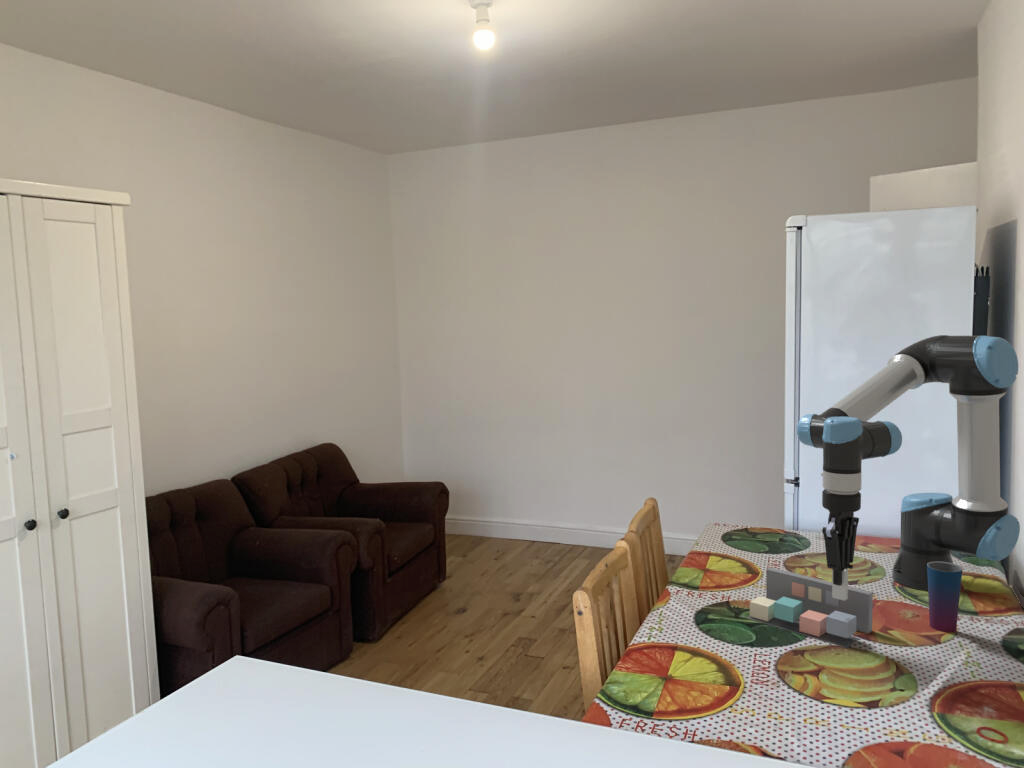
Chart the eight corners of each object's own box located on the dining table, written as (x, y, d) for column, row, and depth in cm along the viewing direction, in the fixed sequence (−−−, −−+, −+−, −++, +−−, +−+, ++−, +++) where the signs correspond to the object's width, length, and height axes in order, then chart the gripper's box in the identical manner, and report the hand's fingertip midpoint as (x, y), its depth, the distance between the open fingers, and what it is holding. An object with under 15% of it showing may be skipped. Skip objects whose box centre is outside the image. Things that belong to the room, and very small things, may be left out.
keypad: (771, 606, 186) (771, 566, 185) (872, 635, 169) (873, 591, 168) (737, 626, 175) (737, 584, 174) (842, 659, 158) (843, 613, 157)
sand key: (759, 610, 180) (759, 596, 180) (777, 615, 177) (777, 601, 177) (749, 616, 177) (749, 601, 177) (767, 621, 174) (767, 606, 173)
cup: (965, 639, 165) (967, 572, 164) (931, 637, 167) (933, 571, 165) (953, 626, 172) (955, 561, 170) (921, 624, 173) (922, 560, 172)
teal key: (783, 611, 176) (783, 596, 175) (802, 616, 172) (802, 601, 172) (773, 617, 173) (774, 602, 172) (793, 622, 169) (793, 607, 169)
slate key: (835, 625, 167) (835, 610, 167) (856, 631, 164) (856, 616, 163) (826, 632, 164) (826, 616, 164) (847, 638, 161) (847, 622, 160)
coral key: (808, 624, 172) (808, 609, 171) (828, 630, 168) (828, 615, 168) (799, 631, 168) (799, 615, 168) (819, 637, 165) (819, 621, 165)
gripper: (837, 482, 168) (835, 585, 171) (810, 493, 159) (808, 602, 162) (872, 487, 163) (870, 594, 165) (846, 499, 154) (844, 611, 156)
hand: (839, 597), depth 163 cm, fingers closed
